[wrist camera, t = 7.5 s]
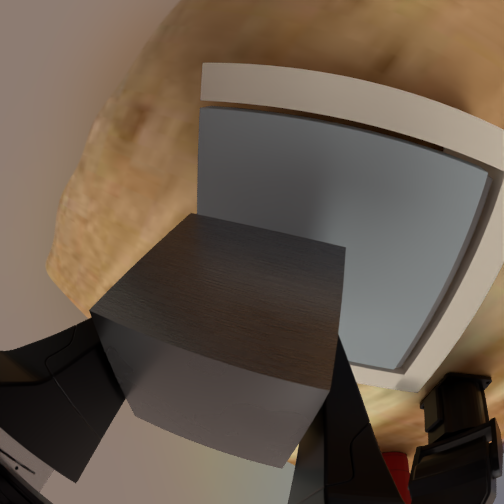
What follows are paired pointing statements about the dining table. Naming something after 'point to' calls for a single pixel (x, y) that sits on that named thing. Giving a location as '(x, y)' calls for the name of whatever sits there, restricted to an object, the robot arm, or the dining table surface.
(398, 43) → the dining table surface
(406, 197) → the trapdoor
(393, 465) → the plastic cup
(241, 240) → the block
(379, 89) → the white step stool
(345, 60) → the dining table surface
